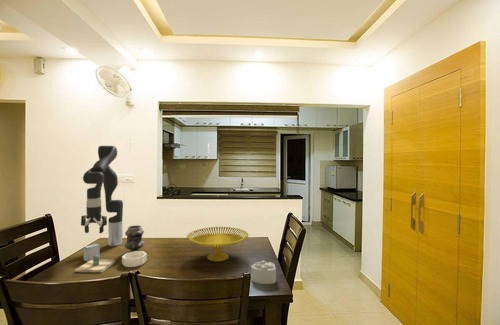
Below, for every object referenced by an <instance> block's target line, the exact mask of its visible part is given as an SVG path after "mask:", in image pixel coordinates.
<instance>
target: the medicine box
mask: <svg viewBox="0 0 500 325" xmlns="http://www.w3.org/2000/svg"><path fill="white" fill-rule="evenodd" d="M100 248H101V245H100V244H98V243H92V244H90V245H86V246H83V261H85V262H86V261H87V262H88V261H90V260H92V259H93V256H96V255H99V259H100V256H101V253H100V252H101V250H100ZM87 262H86V263H87Z"/></svg>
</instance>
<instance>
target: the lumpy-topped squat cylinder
mask: <svg viewBox="0 0 500 325" xmlns="http://www.w3.org/2000/svg"><path fill="white" fill-rule="evenodd" d="M250 268H251V270H250V271H251V274H250V275H251V276H250V278H251V279H250V280H251V281H252V282H253V283H255V284H260V285H272V284H273V285H274V284H275V283H276V282H277V277H276V275H277V270H276V269H277V268H276V265H275V263H273V262H267V261H266V260H261V261H260V262H259V261H258V262H255V263H254V264H252V265H251V267H250Z"/></svg>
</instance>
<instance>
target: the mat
mask: <svg viewBox="0 0 500 325" xmlns="http://www.w3.org/2000/svg"><path fill="white" fill-rule="evenodd" d="M115 262H116V261H115ZM115 262H114V263H112V264H111V265H110V266H108V267H107V268H105V269H104V270H103V271H101V272H100V273H103V272H104V271H105V270H107V269H109V268H110V267H112V266H113V265H114V264H115ZM75 273H89V272H88V271H75Z"/></svg>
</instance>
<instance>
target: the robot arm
mask: <svg viewBox="0 0 500 325" xmlns="http://www.w3.org/2000/svg"><path fill="white" fill-rule="evenodd" d="M97 154H98V155H97V156H98V160H97V161H96V162H95V163H94V164H93V166H92V167H91V168H89V169H88V170H87V171H85V172H84V174H83V176H82V180H83V182H84V183H85V185H86V184H87V185H88V184H89V185H94V184H95V186H93V187H90V188H87V190H86V204H85V205H86V207H85V208H86V214H83V215H81V218H80V220H81V221H80V226H83V227H84V233H85V234H88V233H89V232H90V226H89V225H90V224H96V225H98V226H99V232H98V233H99V234H102V233H103V232H104V230H105V229H104V226H107V225H108V226H107V227H108V230H107V231H108V232H107V233H108V238H107V239H108V242H107V243H108V246H109V247H118V246H121V245H122V244H123V240H124V239H123V235H124V234H123V216H124V215H123V211H124V209H123V208H124V202H123V200H121V199H113V198H112V195H113V194H114V192H115V190H116V189H117V187H118V185H119V183H118V181H119V180H118V174H117V173H116V172H115V170H113V169H112V167H111V166H110V165H111V164H112V162H113V161H114V160H116V158H117V156H118V148H117V146H115V145H99V146H98V148H97ZM102 187H103V190H104V198H105V210H106V212H107V213H109V214H110V213H111V214H112V213H116V214H115V215H113V216H111V217H109V218H107V214H105V215H102V196H101V195H102V192H101V191H102ZM107 219H108V220H107Z"/></svg>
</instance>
